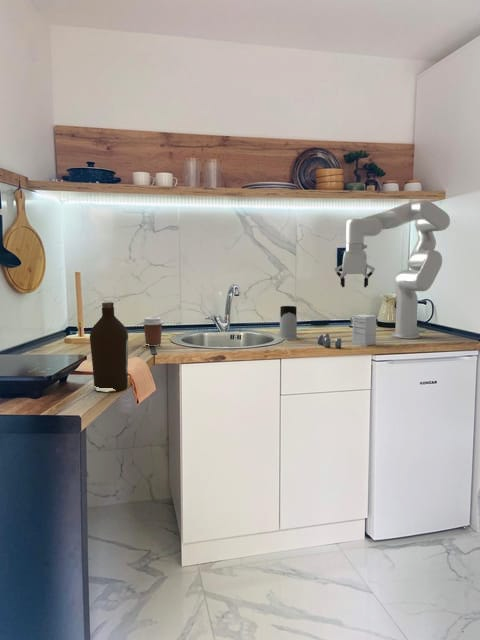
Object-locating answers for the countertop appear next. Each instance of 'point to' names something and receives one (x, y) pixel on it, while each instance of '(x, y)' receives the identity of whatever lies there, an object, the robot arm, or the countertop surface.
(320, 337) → the stub cradle
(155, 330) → the coffee cup
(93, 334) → the olive oil
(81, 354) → the countertop surface
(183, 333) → the countertop surface
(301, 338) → the countertop surface
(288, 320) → the glass holder
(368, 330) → the supplement box
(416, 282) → the robot arm
